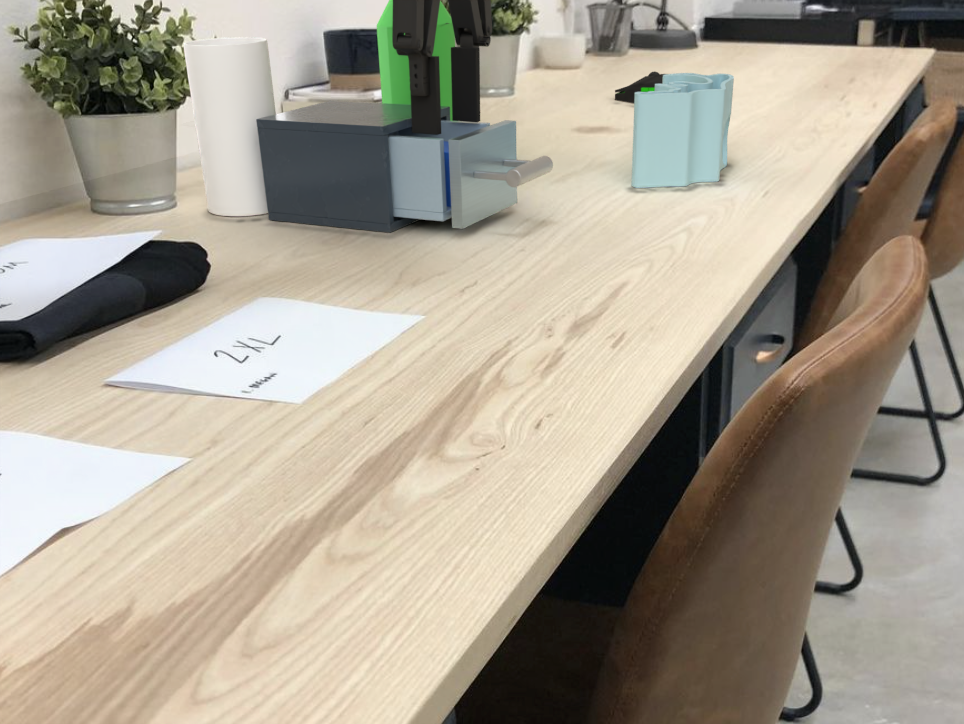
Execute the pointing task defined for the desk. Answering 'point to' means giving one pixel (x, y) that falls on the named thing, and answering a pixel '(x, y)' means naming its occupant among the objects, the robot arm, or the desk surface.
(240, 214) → the cup
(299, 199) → the dark gray drawer cabinet
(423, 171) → the drawer
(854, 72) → the desk surface
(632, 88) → the black spring clamp
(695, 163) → the squiggly pen holder
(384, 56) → the bottle
